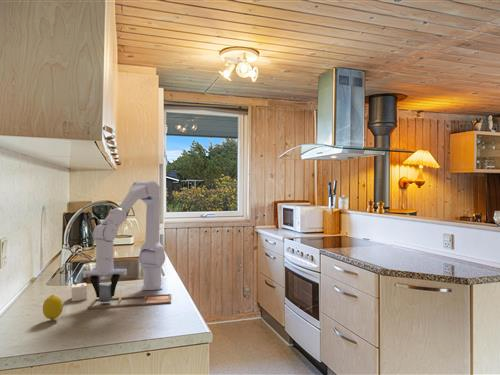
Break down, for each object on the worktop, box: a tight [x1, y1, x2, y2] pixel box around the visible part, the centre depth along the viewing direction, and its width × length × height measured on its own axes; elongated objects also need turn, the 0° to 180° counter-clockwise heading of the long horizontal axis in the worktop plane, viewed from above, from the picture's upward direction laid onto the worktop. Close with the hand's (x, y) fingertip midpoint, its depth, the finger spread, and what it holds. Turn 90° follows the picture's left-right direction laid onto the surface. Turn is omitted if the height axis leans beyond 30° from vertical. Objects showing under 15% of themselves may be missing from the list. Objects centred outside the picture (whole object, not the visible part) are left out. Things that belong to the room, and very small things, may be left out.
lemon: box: [42, 294, 64, 321], centre depth 116 cm, size 6×6×8 cm
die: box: [71, 282, 88, 302], centre depth 139 cm, size 5×5×5 cm
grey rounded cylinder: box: [98, 282, 113, 303], centre depth 132 cm, size 4×4×6 cm
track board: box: [87, 293, 172, 310], centre depth 134 cm, size 10×28×1 cm, turn 101°
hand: (105, 296), depth 132 cm, fingers closed on grey rounded cylinder, 4 cm apart
